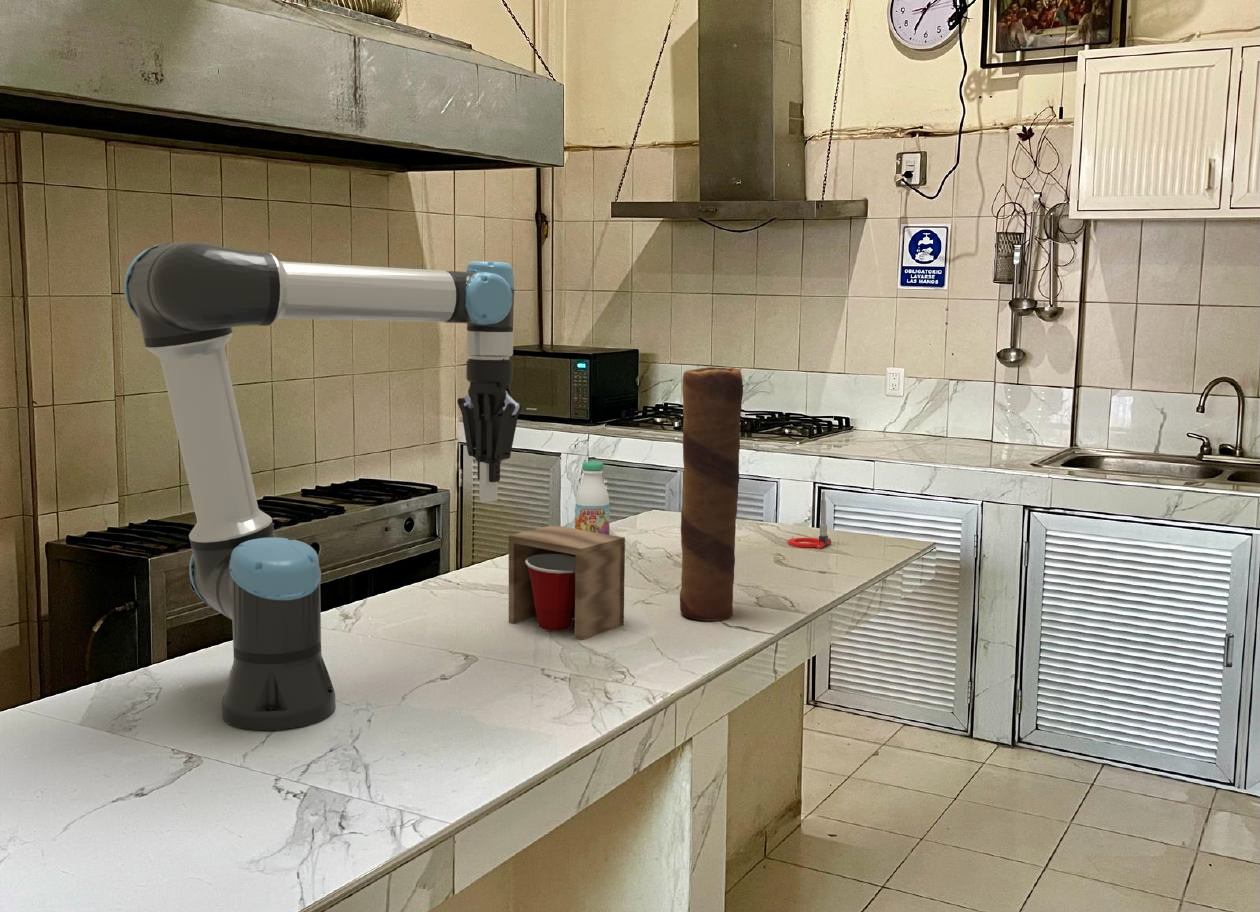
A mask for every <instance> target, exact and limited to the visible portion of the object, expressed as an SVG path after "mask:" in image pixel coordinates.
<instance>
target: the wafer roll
mask: <svg viewBox="0 0 1260 912" xmlns="http://www.w3.org/2000/svg"><path fill="white" fill-rule="evenodd" d="M682 375H683V376H682V380H681V381H682V383H681V385H682V386H681V391H682V412H683V422H682V453H683V454H682V460H683V474H682V493H681V494H682V497H681V499H682V502H681V512H680V515H681V517H680V518H681V519H680V537H681V538H680V542H681V544H680V545H681V552H682V553H681V555H682V557H681V576H680V577H681V578H680V579H681V587H680V592H679V611H680V613H681V614H682V616H684V617H687V618H688V619H689V618H690V619H694V620H699V621H722V620H728V619H730V618H732V616H733V615H734V613H733V612H734V611H733V610H734V609H733V608H734V607H733V601H734V582H735V564H736V556H735V550H736V549H735V547H736V533H737V532H736V531H737V529H736V520H737V514H738V501H739V484H740V450H741V440H740V431H741V415H742V401H743V396H744V385H743V383H744V382H743V376H742V372H741V370H740V369H739V368H736V367H729V368H726V367H710V366H708V367H702V368H695V369H688V370H685V371H684V372H683V374H682Z"/></svg>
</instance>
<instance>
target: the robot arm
mask: <svg viewBox="0 0 1260 912" xmlns="http://www.w3.org/2000/svg"><path fill="white" fill-rule="evenodd" d="M466 267H467V268H466V271H455V270H439V269H420V268H418V269H417V268H403V267H388V266H387V267H386V266H370V265H369V266H366V265H351V264H332V263H315V262H301V261H300V262H298V261H279V259H277V257H276V256H275V255H274V254H273V253H270V252H257V251H248V250H242V249H236V248H231V247H230V248H229V247H225V246H222V245H216V244H211V243H207V242H200V241H197V242H195V241H189V242H188V241H187V242H177V241H176V242H163V243H160V244H155V245H153V246H152V247H149V248H146V249H145V250H143V251H141V253H138V255H137V256H136V257H135V258H134V259H133V260H132V261H131V263H130V265H129V266H128V268H127V270H126V272H125V275H124V280H123V291H124V292H123V293H124V298H125V301H126V303H127V305H128V307H129V309H130V310H131V311H132V313H133V315H134V316H135V317H136V318H137V319H138V320H139V321H138V322H139V325H140V330H141V334H142V337H143V342H144V346H145V349H146V351H149V352H150V353H152V354H153V355H154V356H156V357H157V358H158V359H159V360H160V365H161V369H162V373H163V377H164V382H165V385H166V390H167V395H168V399H169V402H170V408H171V412H172V417H173V420H174V425H175V430H176V433H177V434H176V435H177V438H178V443H179V447H180V452H181V455H182V460H183V464H184V469H185V474H186V479H187V482H188V486H189V487H188V488H189V492H190V496H191V500H192V506H193V509H194V514H195V517H196V523H195V525H194V527H192V530H191V531H190V532H189V534H188V537H189V538H188V539H189V543H190V547H191V551H192V554H191V556H190V560H189V566H188V567H189V570H188V571H189V578H190V582H191V585H192V586H193V589H194V591H195V592H196V594H197V595H198V597H199V598H200V599H201V600H202V602H204V603H205V604H206V605H207V606H209V608H212V610H215V611H218V612H219V613H220V614H222V616H225V617H227V618H228V619H230V620H231V621H232V623H231V624H232V642H233V643H232V647H233V650H232V651H233V662H232V666H231V669H230V672H229V676H228V679H227V682H226V687H225V690H224V694H223V696H222V699H221V717H222V720H223V722H225V723H227V724H228V725H230V726H232V727H236V728H240V729H245V730H252V731H280V730H288V729H289V730H290V729H295V728H302V727H304V726H309V725H311V724H315V723H317V722H320V721H322V720H324V719H327V718H328V717H329V716H331V715H332V714H333V713H334V712H335V710H336V692H335V687H334V686H333V683H332V680H331V677H330V674H329V672H328V669H327V667H326V664H325V661H324V658H323V654H322V620H321V619H322V617H321V616H322V615H321V607H322V606H321V603H322V602H321V580H322V571H321V568H320V559H319V555H318V553H317V551H316V550H315V549H314V548H313V547H312V546H311V545H309V544H308V543H306V542H303V541H300V540H297V539H291V540H290V539H289V538H287V537H286V538H285V537H277V536H276V533H275V528H274V524H273V518H272V517H271V516H270V515H269V514H267V513H265V512H264V511H262V510H261V509H260V507H259V505H258V501H257V496H256V492H255V491H256V490H255V487H254V482H253V476H252V472H251V468H250V463H249V458H248V454H247V449H246V443H245V439H244V434H243V429H242V426H241V421H240V415H239V412H238V407H237V401H236V397H235V393H234V388H233V383H232V378H231V375H230V369H229V365H228V360H227V355H226V351H225V347H226V345H227V343H228V342H229V341H230V339H231V338H232V336H233V335H234V334H233V329H232V328H237V327H238V328H239V327H251V326H253V327H254V326H256V327H257V326H261V327H263V326H265V327H266V326H267V327H270V326H273V325H274V324H275V323H276V322H277V321H278V320H279V319H284V320H285V319H286V320H287V319H288V320H290V319H291V320H293V319H294V320H328V321H329V320H332V321H333V320H336V321H337V320H339V321H368V322H369V321H373V322H374V321H376V322H411V323H413V322H415V323H417V322H419V323H420V322H421V323H446V324H447V323H449V324H466V351H465V353H466V355H467V356H468V357H469V358H467V360H466V372H465V373H466V377H465V378H466V380H467V381H468V382H469V388H468V389H467V395H465V396H464V397H459V398H458V399H457V401H456V402H457V405H458V408H459V410H460V412H461V418H462V424H463V425H462V426H463V430H464V437H465V444H466V449H467V454H468V456H469V457H473V458H474V459H475V460H476V461H477V480H478V481H479V502H481V503H490V502H491V503H492V502H498V498H499V497H498V494H499V493H498V490H499V489H498V486H499V485H498V484H499V483H498V482H500V480H501V463H502V462H503V461H505V460H509V459H510V458H511V455H512V449H513V444H514V439H515V433H516V429H517V423H518V417H519V416H520V414H521V411H522V410H523V408H524V407H523V406H524V405H523V403H522V402H516V400H514V399H513V398H512V392H511V389H510V384H511V382H512V381H513V379H514V375H513V374H514V362H513V360H512V359H511V358H510V357H512V356H513V355H514V312H515V311H514V310H515V309H514V307H515V305H514V304H515V302H514V301H515V292H516V291H515V290H516V289H515V276H514V268H513V266H512V265H511V264H510V263H508V262H503V261H469V262H468V263H467V266H466Z"/></svg>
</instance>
